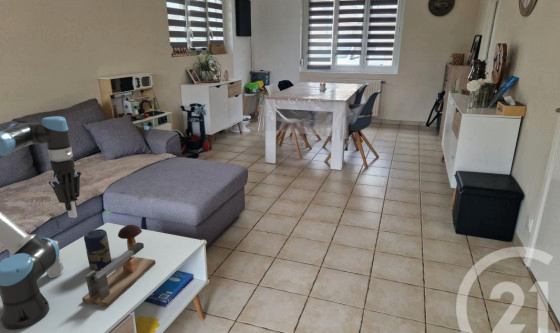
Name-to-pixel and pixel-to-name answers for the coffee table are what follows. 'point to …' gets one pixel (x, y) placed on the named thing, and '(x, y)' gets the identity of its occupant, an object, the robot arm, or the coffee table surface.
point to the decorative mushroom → (129, 234)
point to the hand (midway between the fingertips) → (73, 216)
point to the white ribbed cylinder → (56, 267)
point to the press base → (115, 281)
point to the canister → (97, 249)
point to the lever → (119, 260)
